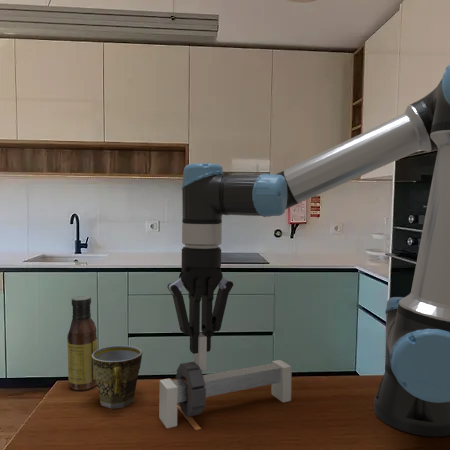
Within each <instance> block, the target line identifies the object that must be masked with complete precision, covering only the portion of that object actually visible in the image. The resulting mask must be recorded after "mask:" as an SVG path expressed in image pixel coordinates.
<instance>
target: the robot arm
mask: <svg viewBox="0 0 450 450" xmlns="http://www.w3.org/2000/svg"><path fill="white" fill-rule="evenodd" d="M440 79H441V80H440V81H439V83H438V85H437V86H436V87H435V88H434V89H432V91H430V92H429V93H428V94H426V95H425V96H424V97H421V98H420V99H419V100H417V101H414V102H413V103H411V104H409V105H407V107H406V109H405V111H404V113H402V114H400V115H398V116H396V117H394V118H392V119H390V120H388V121H385V122H383V123H381V124H379V125H377V126H375V127H372V128H371V129H369V130H367V131H364V132H362V133H360V134H358V135H355V136H353V137H352V138H349V139H346V141H343V142H341V143H339V144H336V145H334V146H332V147H331V148H328V149H326V150H324V151H321V152H320V153H318V154H315V155H314V156H312V157H309V158H307V159H304V160H303V161H301V162H298V163H297V164H294V165H292V166H291V167H288V168H286V169H283V171H279V172H277V173H275V174H271V173H262V174H261V173H260V174H259V173H258V174H256V173H255V174H225V173H224V172H223V166H222V165H220V164H217V163H209V162H208V163H204V162H198V163H197V162H196V163H189V164H187V165H185V166H184V168H183V172H182V174H183V175H182V186H181V190H182V191H181V192H182V193H181V194H182V198H181V199H182V201H181V203H182V206H181V207H182V209H181V210H182V212H181V213H182V220H181V222H182V223H181V243H182V244H183V245H184V246H183V247H182V248H181V271H180V272H179V276H178V279H177V280H176V281H174V282H173V283H171V282H170V283H168V284H167V289H168V291H169V292H170V294H171V296H172V299H173V303H174V308H175V312H176V317H177V321H178V325H179V330H180V331H181V333H182V334H184V335H185V336H189V351H190V352H191V354H192V355H193V362H195V363H196V364H197V365H198V366H199V367H200V369H201V371H202V372H207V353H208V352H210V351H211V347H212V337H213V336H214V333H215V332H219V331H220V330H221V328H222V324H223V319H224V315H225V311H226V306H227V302H228V297H229V293H230V292H231V291H232V288H233V287H234V282H233V281H231V280H228V279H227V278H225V277H224V276H223V275H224V274H223V272H222V270H221V268H222V267H221V266H222V249H221V247H219V246H220V245H221V244H222V239H223V238H222V232H223V231H222V230H223V229H222V228H223V227H222V226H223V224H222V223H223V222H222V221H223V216H248V217H250V216H251V217H263V218H267V217H269V218H271V217H280V216H282V215H284V213H285V212H286V210H288V209H290V208H292V207H294V206H296V205H298V204H301V203H302V202H305V201H308V200H310V199H312V198H315V197H316V196H318V195H321V194H323V193H326V192H328V191H329V190H332V189H335V188H337V187H339V186H342V185H345V184H346V183H348V182H350V181H352V180H355V179H357V178H359V177H362V176H364V175H366V174H369V173H371V172H373V171H376V170H378V169H379V168H382V167H385V166H387V165H389V164H391V163H393V162H397V161H399V160H400V159H401V160H402V159H403V158H405V157H407V156H409V155H411V154H414V153H416V152H418V151H424V152H426V153H430V152H432V151H435V150H437V154H436V158H435V163H434V168H433V173H432V179H431V185H430V189H429V195H428V198H427V199H428V201H427V204H426V205H427V206H426V211H425V216H424V222H423V226H422V230H421V231H422V232H421V235H420V236H421V238H420V243H419V248H418V252H417V258H416V264H415V268H414V275H413V280H412V284H411V285H412V286H411V291H410V293H408V295H406V296H405V297H404V296H403V297H402V296H393V297H390V298H388V299H387V301H386V308H385V315H386V317H385V345H384V346H385V351H384V373H383V376H382V378H381V381H380V383H379V386H378V389H377V392H376V394H375V397H374V403H373V405H374V407H373V409H374V413H375V415H376V416H377V418H378V419H379V420H380V421H382V422H383V423H384V424H386V425H388V426H390V427H392V428H394V429H396V430H399V431H402V432H405V433H408V434H413V435H415V436H422V437H433V438H434V437H435V438H437V437H438V438H440V437H448V436H450V63H449V64H448V65H447V66H446V68H445V70H444V72H443V74H442V78H440ZM183 287H184V288H185V290H186V291H187V293H188V299H189V303H188V304H189V305H188V309H189V310H188V312H187V309H186V304H185V299H184V296H183V293H182V292H183V289H184V288H183ZM217 287H218V290H217V292H216V297H214V296H215V294H214V292H215V291H216V289H217ZM214 298H215V301H214V306H213V300H214ZM200 317H201V319H200ZM200 320H201V321H200ZM200 322H201V323H200ZM200 324H201V326H200ZM200 328H201V331H200Z"/></svg>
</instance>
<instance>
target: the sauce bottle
mask: <svg viewBox="0 0 450 450" xmlns="http://www.w3.org/2000/svg"><path fill="white" fill-rule="evenodd" d="M91 305H92V297H91V296H89V295H81V296H79V295H78V296H73V297H72V298H71V306H72V316H71V317H72V319H71V324H70V327H69V330H68V333H67V335H66V336H67V337H66V338H67V339H66V340H67V370H68V371H67V373H68V374H67V377H68V382H69V383H68V384H69V387H70V388H71V389H72V390H75V391H85V390H91V389H92V388H95V387H96V386H98V385H97V379H96V376H95V372H94V367H93V361H92V354H93V353H94V352H95V351H97V350H98V337H97V326H96V323H95V322H94V320H93V319H92V316H91V315H92V314H91Z"/></svg>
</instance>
